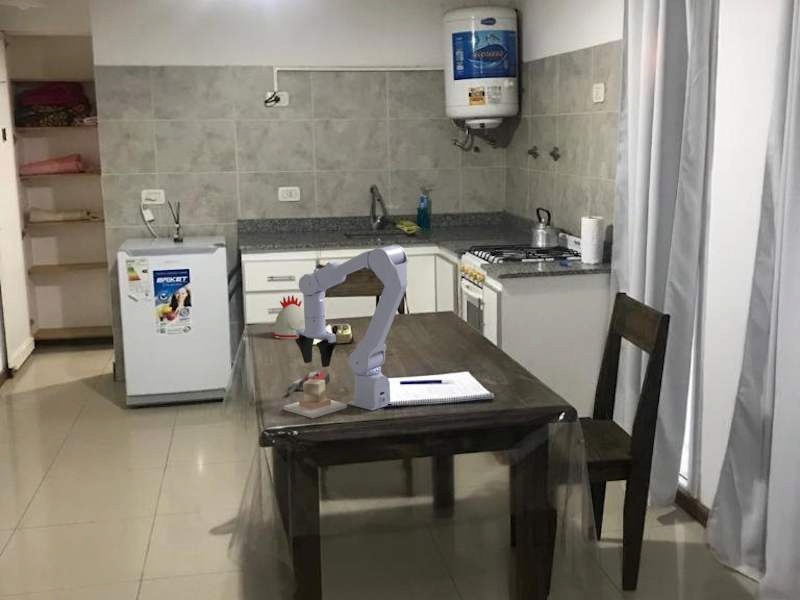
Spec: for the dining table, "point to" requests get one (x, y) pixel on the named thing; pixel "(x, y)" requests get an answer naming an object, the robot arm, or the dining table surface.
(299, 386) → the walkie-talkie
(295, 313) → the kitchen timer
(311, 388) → the birch block
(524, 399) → the dining table surface
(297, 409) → the base plate
